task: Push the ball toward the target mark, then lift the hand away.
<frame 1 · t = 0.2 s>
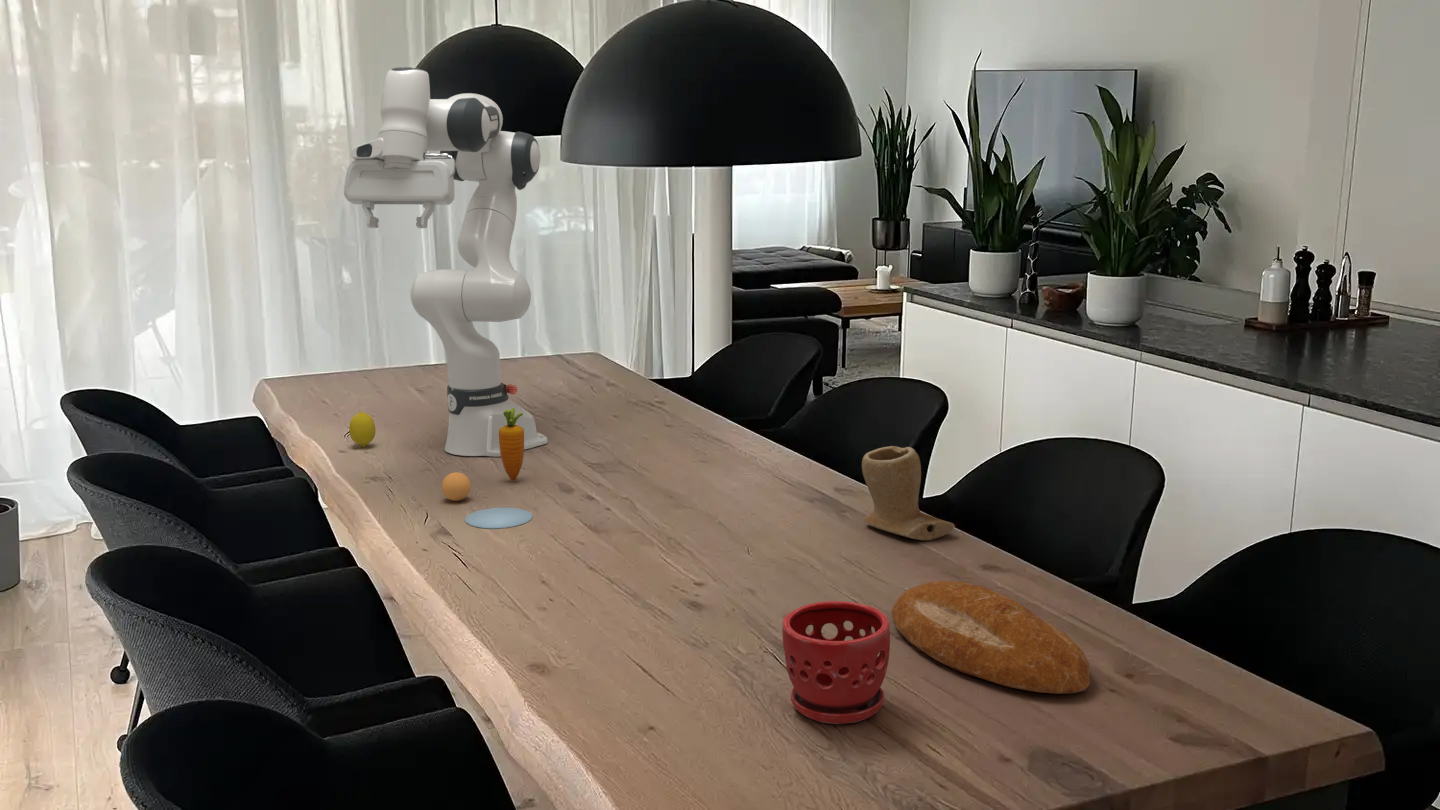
hand: (396, 227, 245), 51 cm above the table, tool tilted 20°, fingers open, 8 cm apart
bread: (983, 655, 184), on the table
ball: (456, 486, 254), on the table
carrot: (513, 482, 267), on the table
lemon: (363, 448, 294), on the table
plant pot: (834, 710, 167), on the table
target mark: (498, 518, 244), on the table
tan boot-shaped piece: (900, 533, 235), on the table
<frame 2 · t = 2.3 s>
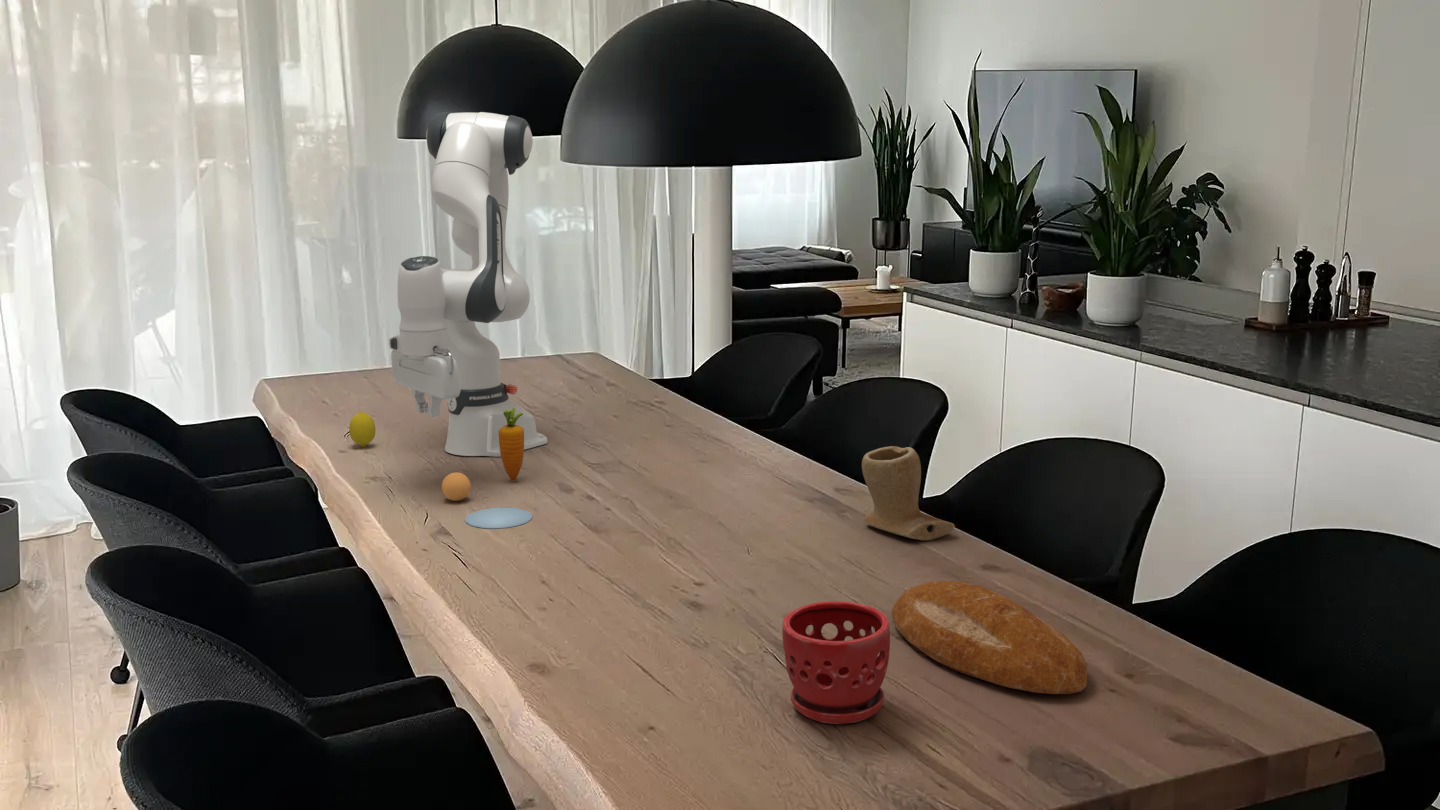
hand: (428, 414, 258), 15 cm above the table, tool pointing down, fingers open, 3 cm apart
nothing on the table moved.
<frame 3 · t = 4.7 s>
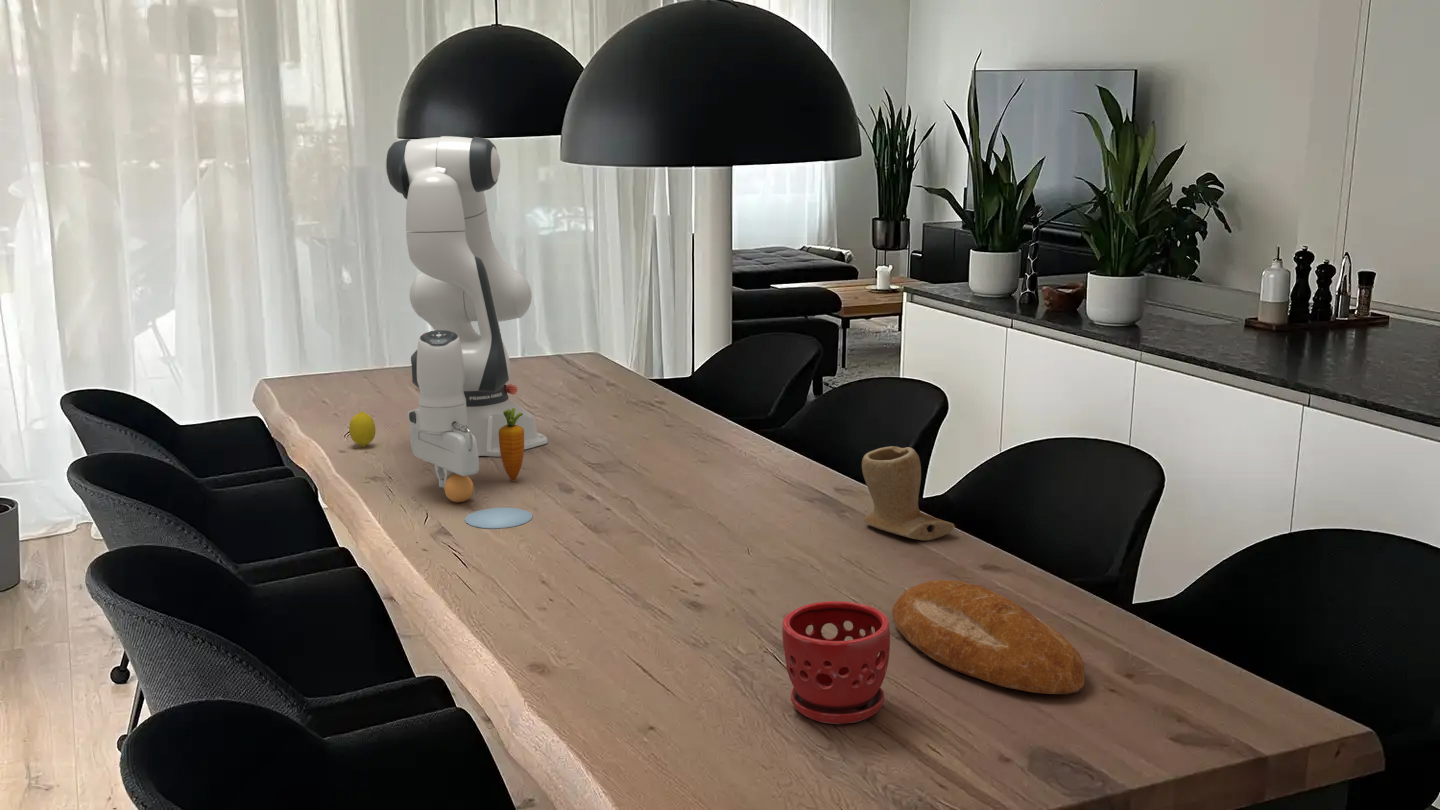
hand: (446, 488, 256), 2 cm above the table, tool pointing down, fingers closed
ball: (459, 487, 253), on the table, touching gripper
everything else where it was.
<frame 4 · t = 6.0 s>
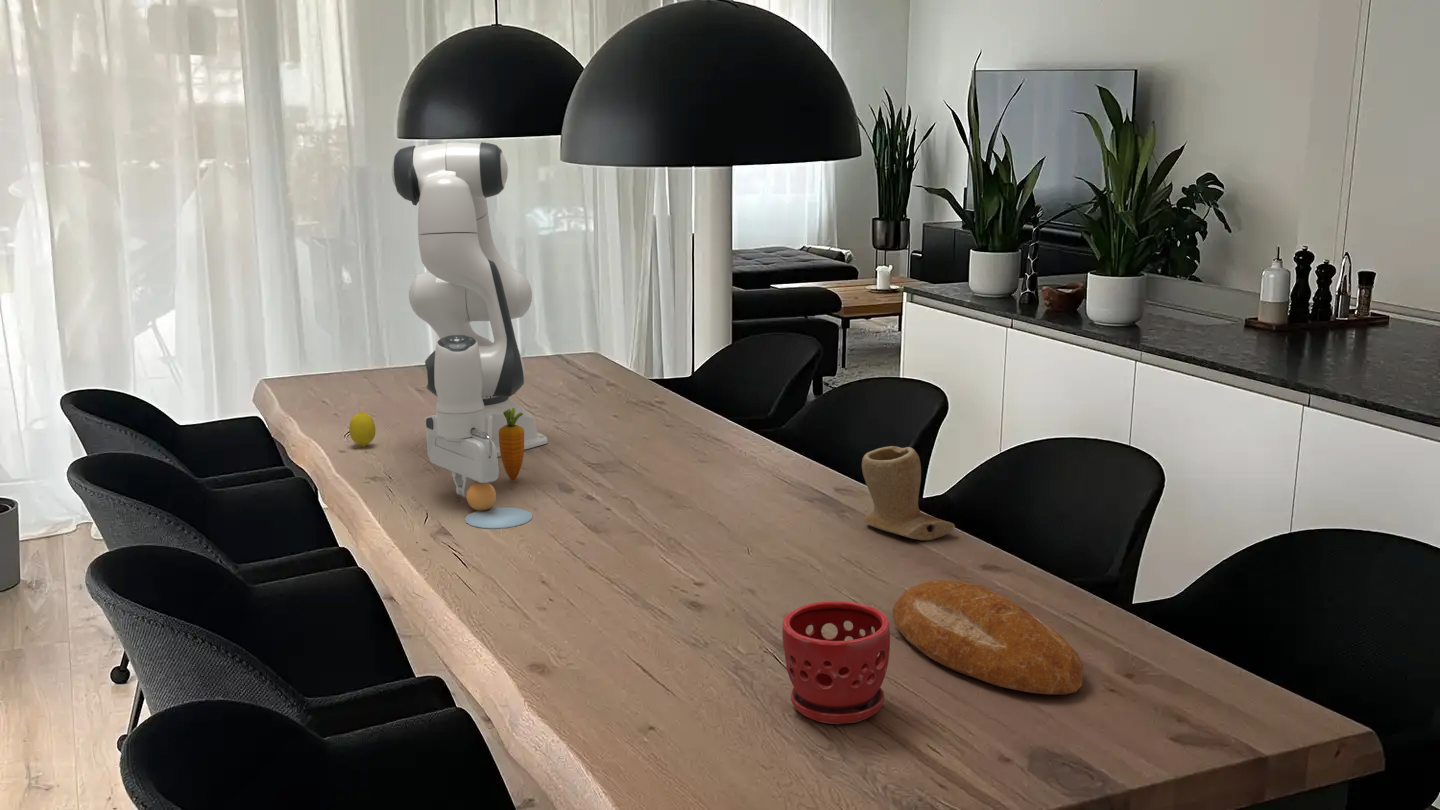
hand: (464, 495, 252), 2 cm above the table, tool pointing down, fingers closed
ball: (481, 496, 248), on the table
everything else where it was.
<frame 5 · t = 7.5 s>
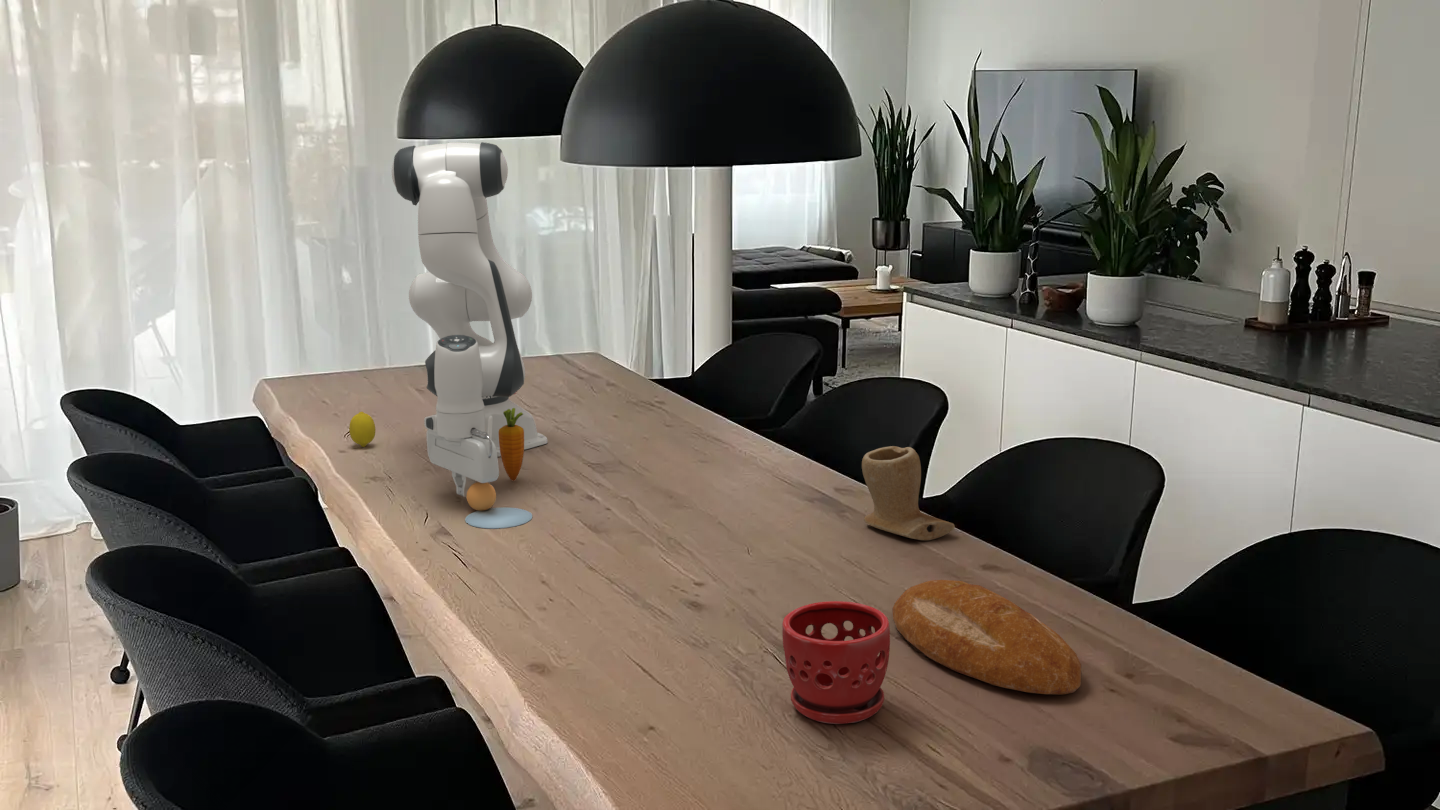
hand: (464, 495, 252), 2 cm above the table, tool pointing down, fingers closed
nothing on the table moved.
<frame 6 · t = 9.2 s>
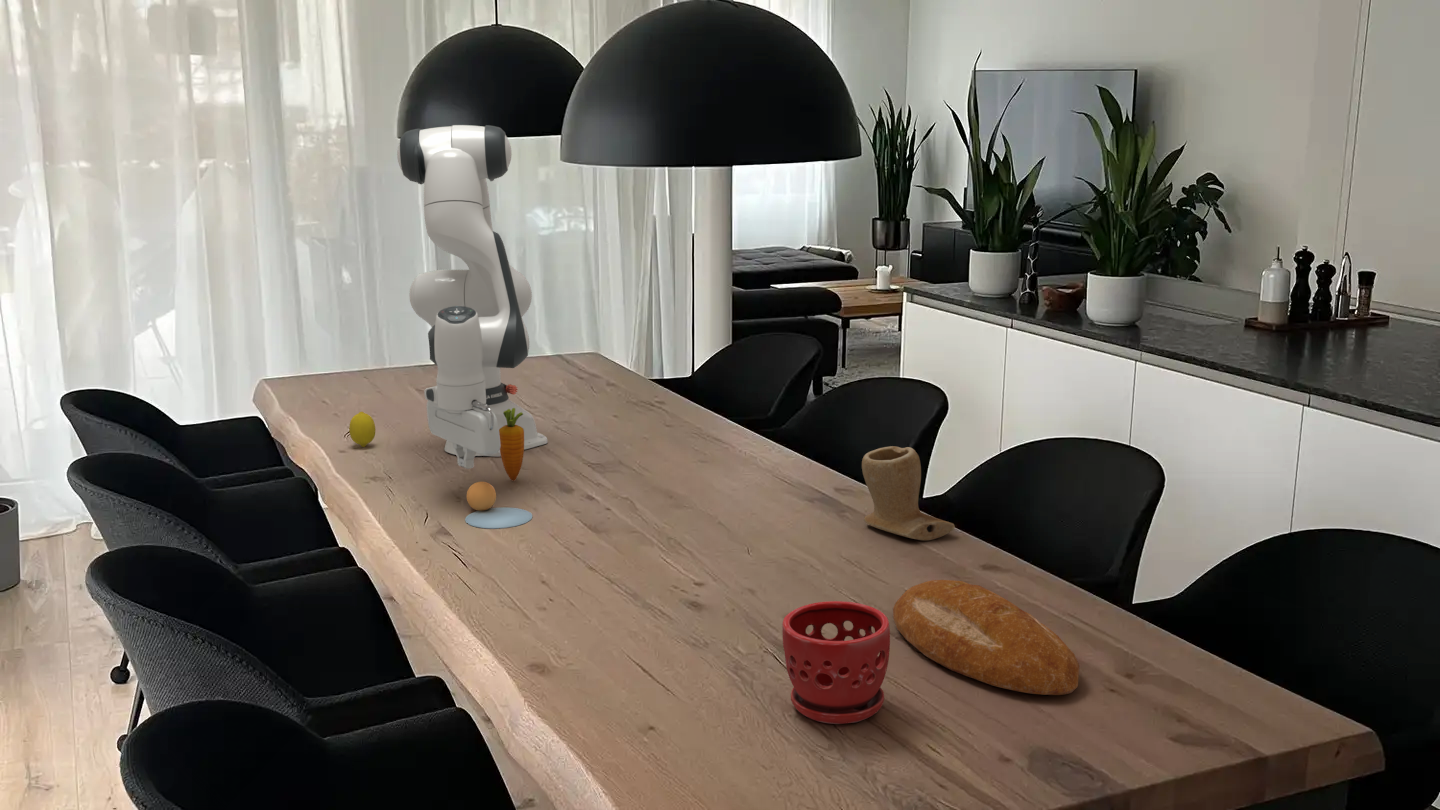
hand: (465, 466, 252), 7 cm above the table, tool pointing down, fingers closed
nothing on the table moved.
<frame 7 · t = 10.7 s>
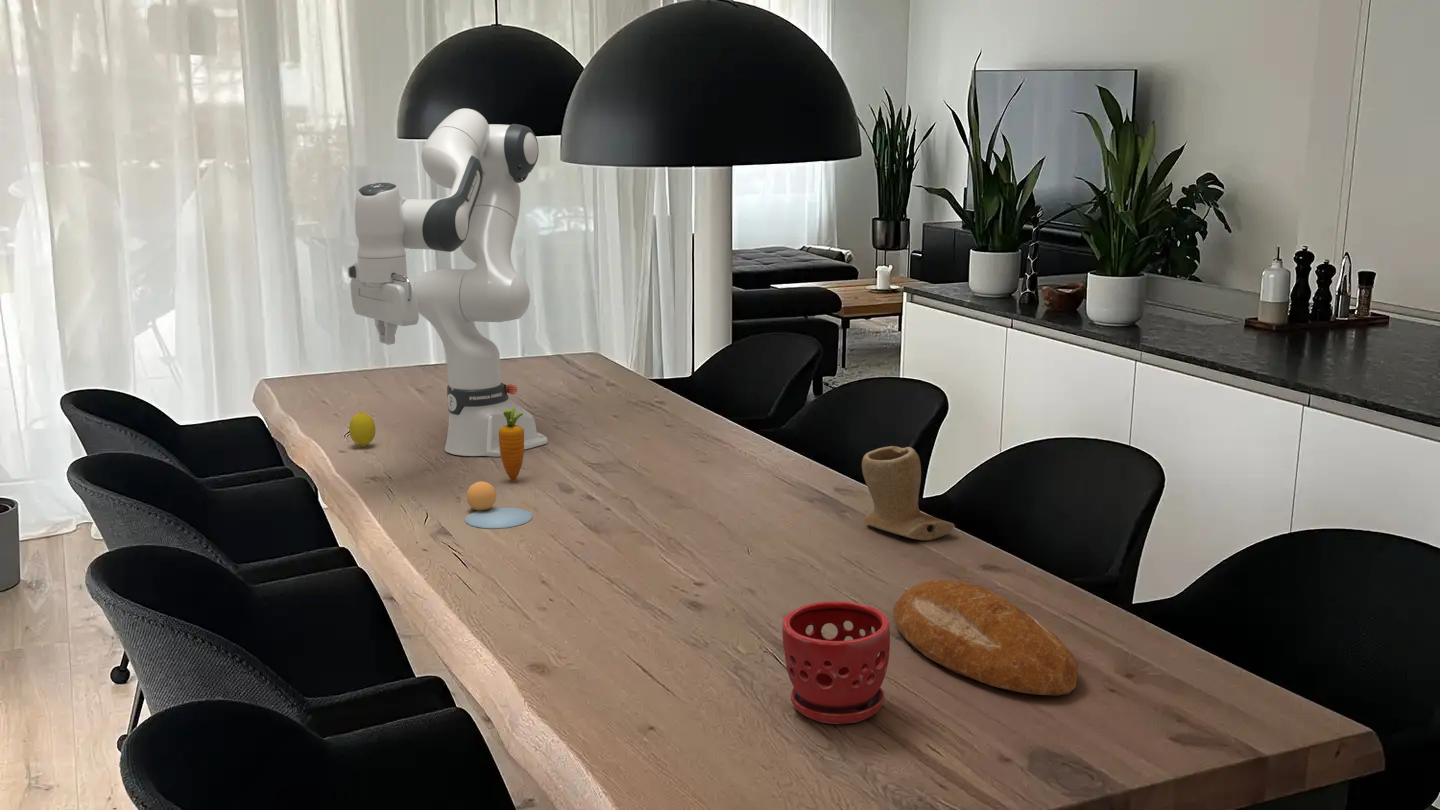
hand: (387, 343, 256), 29 cm above the table, tool pointing down, fingers closed
nothing on the table moved.
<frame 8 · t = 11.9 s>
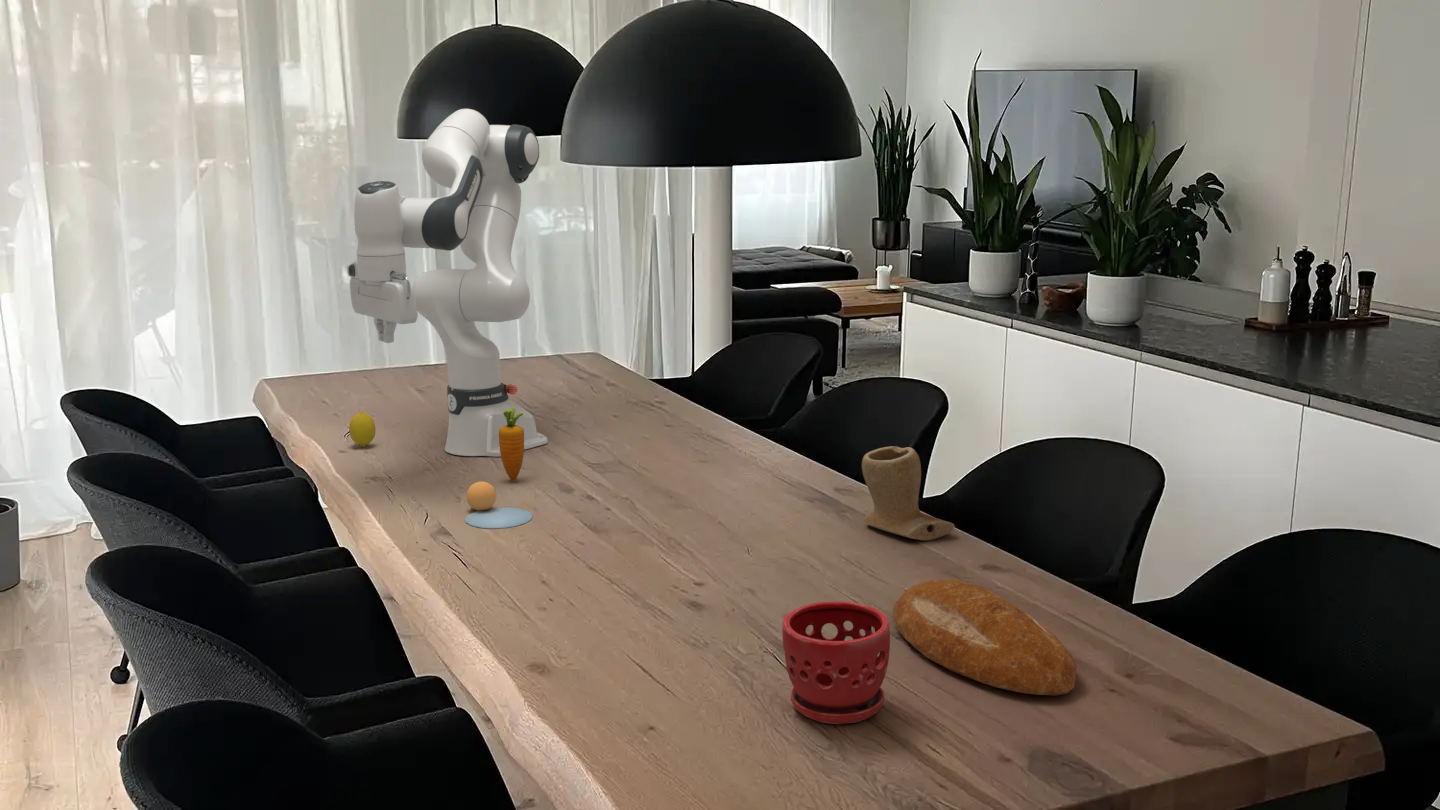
hand: (386, 341, 256), 29 cm above the table, tool pointing down, fingers closed
nothing on the table moved.
at the end: ball 6.4 cm from the target mark (horizontally); ball at rest at the end (0.0 cm/s); ball moved 8.6 cm from its start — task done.
